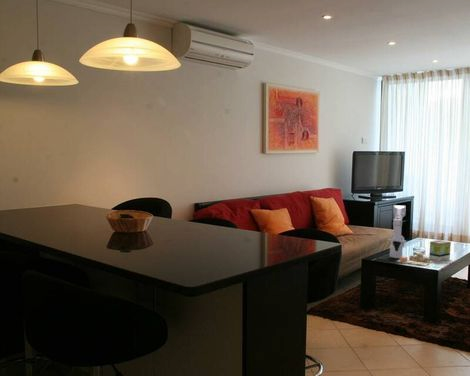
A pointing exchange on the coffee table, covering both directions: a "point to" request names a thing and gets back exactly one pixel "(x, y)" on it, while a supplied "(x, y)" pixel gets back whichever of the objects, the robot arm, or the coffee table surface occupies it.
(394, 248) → the robot arm
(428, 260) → the short block right
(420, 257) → the tall block middle
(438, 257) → the tea box
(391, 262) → the coffee table surface
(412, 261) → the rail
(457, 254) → the coffee table surface
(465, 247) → the coffee table surface
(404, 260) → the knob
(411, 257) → the short block left
